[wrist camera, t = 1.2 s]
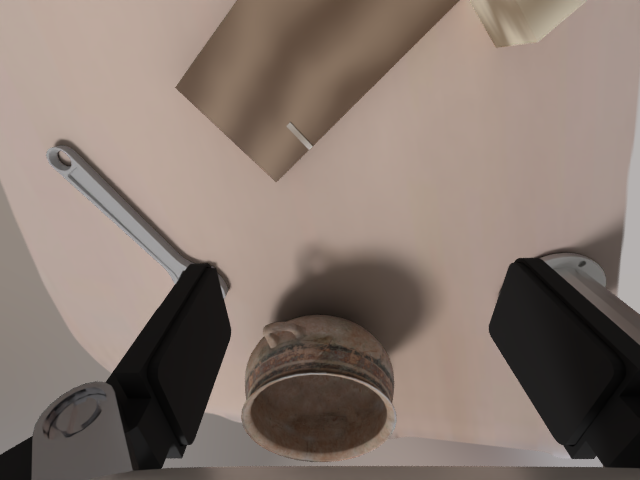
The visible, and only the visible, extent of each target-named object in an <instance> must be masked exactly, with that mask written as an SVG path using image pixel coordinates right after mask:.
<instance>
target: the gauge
mask: <svg viewBox="0 0 640 480" xmlns="http://www.w3.org/2000/svg"><path fill="white" fill-rule="evenodd" d="M469 1H470V3H471V5H472V7H473V8H474V10H475V12H476V14H477V15H478V17H479V19H480V21H481V22H482V24H483V26H484V27H485V29H486V31H487V33H488V34H489V36H490V38H491V40H492V41H493V43H494V45H495V47H496V48H498V47H505V46H513V45H521V44H529V43H536V42H539V41H540V40H541V39H542V38H543V37H545V36H546V35H547V34H548V33H549V32H550V31H552V30H553V29H554V28H555V27H556V26H557V25H559V24H560V23H561V22H562V21H563V20H565V19H566V18H567V17H568V16H569V15H570V14H572V13H573V12H574V11H575V10H576V9H577V8H579V7H580V6H581V5H582V4H583V3H585V2H586V1H587V0H469Z"/></svg>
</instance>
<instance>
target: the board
mask: <svg viewBox="0 0 640 480" xmlns="http://www.w3.org/2000/svg"><path fill="white" fill-rule="evenodd" d="M458 1H459V0H237V1H236V3H235V4H234V6H233V7H232V8H231V10H230V11H229V13H228V14H227V15H226V17H225V18H224V20H223V21H222V22H221V24H220V25H219V27H218V28H217V29H216V31H215V32H214V34H213V35H212V37H211V38H210V39H209V41H208V42H207V44H206V45H205V46H204V48H203V49H202V51H201V52H200V53H199V55H198V56H197V58H196V59H195V60H194V62H193V63H192V65H191V66H190V68H189V69H188V70H187V72H186V73H185V75H184V76H183V77H182V79H181V80H180V82H179V83H178V84H177V86H176V87H175V88H176V89H177V90H178V91H179V92H180V93H182V94H183V95H184V96H185V97H186V98H187V99H188V100H189V101H190V102H191V103H192V104H193V105H194V106H195V107H196V108H197V109H199V110H200V111H201V112H202V113H203V114H204V115H205V116H206V117H207V118H208V119H209V120H210V121H211V122H212V123H213V124H215V125H216V126H217V127H218V128H219V129H220V130H221V131H222V132H223V133H224V134H225V135H226V136H227V137H228V138H229V139H231V140H232V141H233V142H234V143H235V144H236V145H237V146H238V147H239V148H240V149H241V150H242V151H243V152H244V153H245V154H246V155H248V156H249V157H250V158H251V159H252V160H253V161H254V162H255V163H256V164H257V165H258V166H259V167H260V168H261V169H262V170H264V171H265V172H266V173H267V174H268V175H269V176H270V177H271V178H272V179H273V180H274V181H275V182H277V181H278V180H279V179H280V178H281V177H282V176H283V175H284V174H285V173H286V172H287V171H288V170H289V169H290V168H291V167H292V166H293V165H294V164H295V163H296V162H297V161H298V160H299V159H300V158H301V157H302V156H303V155H304V154H305V153H306V152H307V151H308V150H310V149H311V148H312V147H313V145H314V144H315V143H316V142H317V141H318V140H319V139H320V138H321V137H322V136H323V135H324V134H325V133H326V132H327V131H328V130H329V129H330V128H331V127H332V126H333V125H335V124H336V123H337V122H338V121H339V120H340V119H341V118H342V117H343V116H344V115H345V114H346V113H347V112H348V111H349V110H350V109H351V108H352V107H353V106H354V105H355V104H356V103H357V102H358V101H359V100H360V99H361V98H362V97H363V96H364V95H365V94H366V93H367V92H368V91H369V90H370V89H371V88H372V87H373V86H374V85H375V84H376V83H377V82H378V81H379V80H380V79H381V78H382V77H383V76H384V75H385V74H386V73H387V72H388V71H389V70H390V69H391V68H392V67H393V66H394V65H395V64H396V63H397V62H398V61H399V60H400V59H401V58H402V57H403V56H404V55H405V54H406V53H407V52H408V51H409V50H410V49H411V48H412V47H413V46H414V45H415V44H416V43H417V42H418V41H419V40H420V39H421V38H422V37H423V36H424V35H425V34H426V33H427V32H428V31H429V30H430V29H431V28H432V27H433V26H434V25H435V24H436V23H437V22H438V21H439V20H440V19H441V18H442V17H443V16H444V15H445V14H446V13H447V12H448V11H449V10H450V9H451V8H452V7H453V6H454V5H455V4H456V3H457V2H458Z"/></svg>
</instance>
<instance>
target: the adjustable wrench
mask: <svg viewBox="0 0 640 480" xmlns="http://www.w3.org/2000/svg"><path fill="white" fill-rule="evenodd" d="M59 151H63V152H64V153H65V154H67V156H68V157H69V158H70V160H71V166H66V165H64V164H63V163H62V162H61V161H60V160H59V158H58V152H59ZM46 156H47V160H48V162H49V164H50V165H51V166H52V167H53V168H54V169H55V170H56V171H57V172H59V173H60V174H61V175H62V176H63V177H64V178H65V179H66V180H67V181H69V182H70V183H71V184H72V185H73V186H74V187H75V188H76V189H77V190H78V191H80V192H81V193H82V194H83V195H84V196H85V197H86V198H87V199H88V200H90V201H91V202H92V203H93V204H94V205H95V206H96V207H97V208H98V209H100V210H101V211H102V212H103V213H104V214H105V215H106V216H107V217H108V218H109V219H111V220H112V221H113V222H114V223H115V224H116V225H117V226H118V227H119V228H121V229H122V230H123V231H124V232H125V233H126V234H127V235H128V236H129V237H131V238H132V239H133V240H134V241H135V242H136V243H137V244H138V245H139V246H140V247H142V248H143V249H144V250H145V251H146V252H147V253H148V254H149V255H150V256H152V257H153V258H154V259H155V260H156V261H157V262H158V263H159V264H160V265H162V266H163V267H164V268H165V269H166V271H167V272H168V273H169V275H170V276H171V278H172V280H173V281H174V283H175V284H176V283H177V281H178V280H179V278H180V277H181V275H182V273H183V271H185V270H186V268H187V267H188V266H189V265H190V264H195V263H192V262H190V261H188V260H186V259H185V258H183V257H182V256H181V255H180V254H179V253H178V252H177V251H176V250H175V249H174V248H173V247H172V246H171V245H170V244H169V243H168V242H167V241H166V240H165V239H163V238H162V237H161V236H160V235H159V234H158V233H157V232H156V231H155V230H154V229H153V228H152V227H151V226H150V225H149V224H148V223H147V222H146V221H145V220H144V219H143V218H142V217H141V216H140V215H139V214H138V213H137V212H136V211H135V210H134V209H133V208H132V207H131V206H130V205H129V204H128V203H127V202H126V201H125V200H124V199H123V198H122V197H121V196H120V195H119V194H118V193H117V192H116V191H115V190H114V189H113V188H112V187H111V186H110V185H109V184H108V183H107V182H106V181H105V180H104V179H103V178H102V177H101V176H100V175H99V174H98V173H97V172H96V171H95V170H94V169H93V168H92V167H91V166H90V165H89V164H88V163H87V162H86V161H85V160H84V159H83V158H81V157H80V156H79V155H78V154H77V153H76V152H75V151H74V150H73V149H72V148H70V147H68V146H64V145H60V146H56V147H52V148H50V149H48V151H47V154H46ZM211 268H215V267H213V266H211ZM218 277H219V281H220V285H221V290H222V294H223V298H225V297H226V295H227V292H228V287H227V285H226V283H225V281H224V279H223V278H222V277H221V276H220V275H219V274H218Z"/></svg>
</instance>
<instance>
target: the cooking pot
mask: <svg viewBox="0 0 640 480" xmlns="http://www.w3.org/2000/svg"><path fill="white" fill-rule="evenodd" d="M263 335H264V337H263V338H262V339H261V340H260V342H259V343H258V344H257V346H256V347H255V349H254V350H253V352H252V353H251V356H250V358H249V361H248V364H247V367H246V374H245V393H246V402H245V404H244V406H243V409H242V415H241V419H242V423H243V427H244V428H245V430H246V432H247V434H248V435H249V436H250V437H251V438H252V439H253V440H254V441H255V442H256V443H257V444H259V445H260V446H262V447H263V448H265V449H267V450H268V451H271V452H273V453H275V454H278V455H280V456H284V457H287V458H291V459H296V460H301V461H310V462H331V461H340V460H347V459H351V458H355V457H358V456H361V455H364V454H366V453H369V452H370V451H372V450H374V449H376V448H378V447H379V446H380V445H381V444H383V443H384V442H385V441H386V440H387V439H388V438H389V437H390V436H391V434H392V432H393V431H394V429H395V425H396V412H395V409H394V407H393V404H392V400H393V392H394V374H393V368H392V365H391V362H390V359H389V356H388V354H387V353H386V351H385V350H384V348H383V347H382V345H381V344H380V342H379V341H378V340H377V339H376V338H375V337H374V336H373V335H372V334H371V333H370V332H369V331H367V330H366V329H364V328H363V327H361V326H360V325H358V324H356V323H354V322H351V321H349V320H347V319H343V318H340V317H336V316H329V315H309V316H302V317H299V318H295V319H291V320H289V321H287V322H275V323H271V324H268V325H266V326H265V327H264V329H263Z"/></svg>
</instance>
